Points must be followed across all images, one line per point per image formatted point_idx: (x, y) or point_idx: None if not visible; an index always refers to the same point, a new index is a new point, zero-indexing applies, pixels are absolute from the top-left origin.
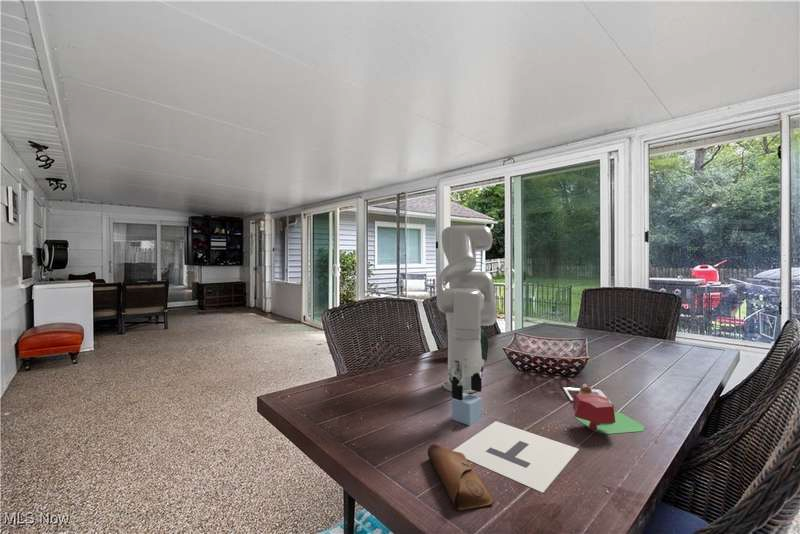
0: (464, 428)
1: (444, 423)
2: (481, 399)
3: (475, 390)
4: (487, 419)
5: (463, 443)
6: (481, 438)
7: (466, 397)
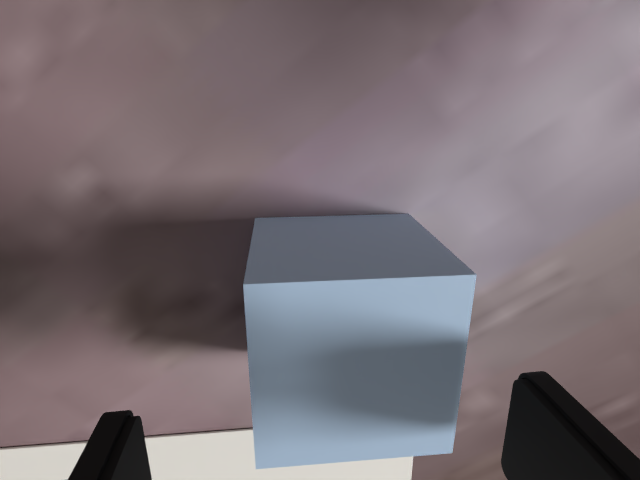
0: (205, 351)
1: (155, 222)
2: (445, 444)
3: (507, 425)
4: None
5: (47, 448)
6: (175, 471)
7: (377, 363)
